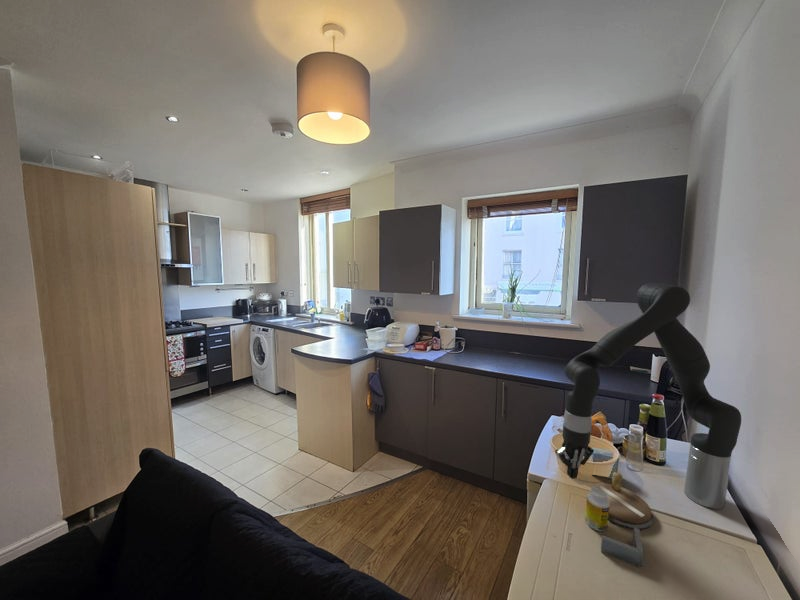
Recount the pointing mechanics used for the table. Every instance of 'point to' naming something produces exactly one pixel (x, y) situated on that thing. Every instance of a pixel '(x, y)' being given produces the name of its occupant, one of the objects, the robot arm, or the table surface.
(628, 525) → the base
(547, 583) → the table surface
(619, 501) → the disc
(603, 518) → the supplement bottle
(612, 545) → the centring stop
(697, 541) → the table surface
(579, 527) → the table surface
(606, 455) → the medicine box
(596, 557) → the table surface
